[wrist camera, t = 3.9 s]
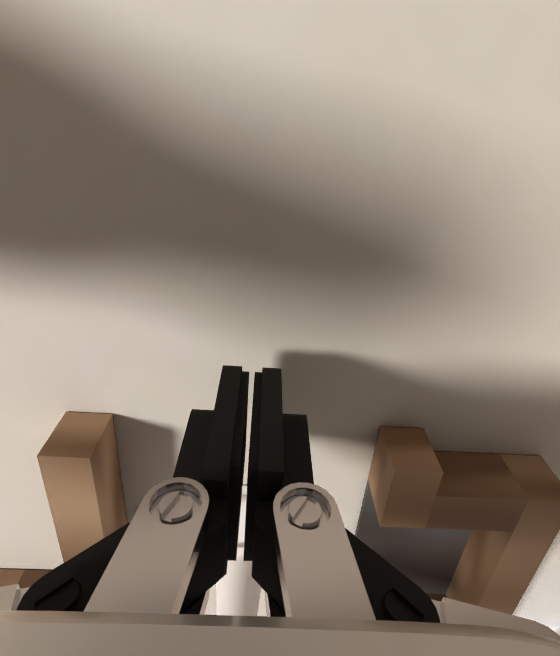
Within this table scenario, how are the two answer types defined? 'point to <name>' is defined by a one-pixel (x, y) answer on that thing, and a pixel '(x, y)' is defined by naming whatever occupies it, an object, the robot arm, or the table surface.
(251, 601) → the chess piece
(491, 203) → the table surface
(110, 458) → the trap lane
